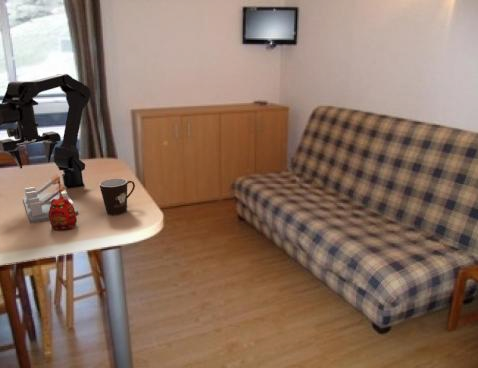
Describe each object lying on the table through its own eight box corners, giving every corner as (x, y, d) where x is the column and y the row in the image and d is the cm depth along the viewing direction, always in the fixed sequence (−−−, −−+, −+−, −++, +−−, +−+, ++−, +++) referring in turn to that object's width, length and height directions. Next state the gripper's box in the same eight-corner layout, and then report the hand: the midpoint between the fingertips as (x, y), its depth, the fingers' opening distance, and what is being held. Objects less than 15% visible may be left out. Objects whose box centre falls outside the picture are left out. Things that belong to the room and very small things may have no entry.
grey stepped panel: (65, 192, 150) (63, 179, 148) (78, 213, 130) (76, 199, 129) (23, 199, 143) (20, 186, 141) (30, 223, 123) (27, 208, 122)
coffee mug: (105, 218, 126) (101, 188, 123) (100, 209, 133) (97, 180, 130) (142, 211, 131) (139, 182, 128) (135, 203, 138) (133, 175, 135)
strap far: (58, 176, 143) (56, 174, 142) (60, 179, 140) (58, 176, 139) (32, 195, 140) (30, 193, 139) (33, 198, 137) (31, 196, 136)
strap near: (64, 185, 133) (62, 183, 132) (66, 188, 130) (64, 186, 130) (36, 206, 130) (33, 204, 130) (37, 210, 127) (35, 207, 127)
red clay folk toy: (47, 232, 118) (38, 183, 113) (56, 222, 124) (48, 175, 119) (73, 231, 118) (66, 182, 113) (81, 221, 125) (74, 175, 120)
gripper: (43, 113, 146) (51, 155, 151) (-14, 121, 133) (-3, 167, 138) (57, 117, 139) (65, 160, 144) (-1, 125, 126) (9, 173, 131)
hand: (34, 165), depth 140 cm, fingers open, 9 cm apart
